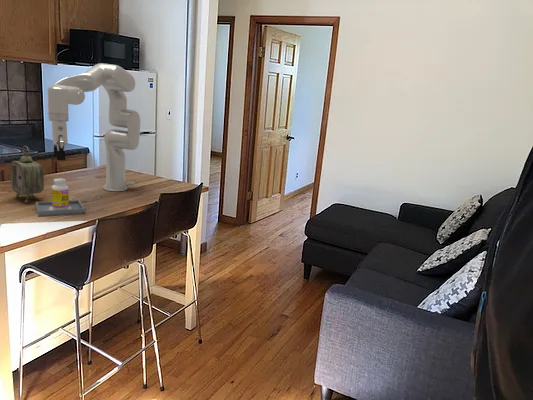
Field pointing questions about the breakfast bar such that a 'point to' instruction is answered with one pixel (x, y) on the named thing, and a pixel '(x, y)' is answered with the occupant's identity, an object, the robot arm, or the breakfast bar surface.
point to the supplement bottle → (60, 194)
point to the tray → (47, 210)
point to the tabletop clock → (27, 176)
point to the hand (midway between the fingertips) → (59, 157)
